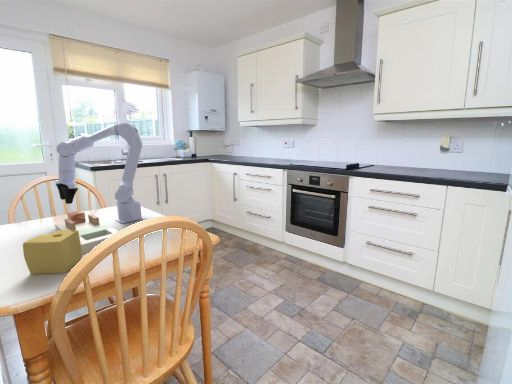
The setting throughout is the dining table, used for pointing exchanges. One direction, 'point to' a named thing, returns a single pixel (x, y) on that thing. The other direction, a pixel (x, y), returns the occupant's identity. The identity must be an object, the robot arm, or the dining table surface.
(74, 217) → the block
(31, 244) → the cheese
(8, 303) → the dining table surface
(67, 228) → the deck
